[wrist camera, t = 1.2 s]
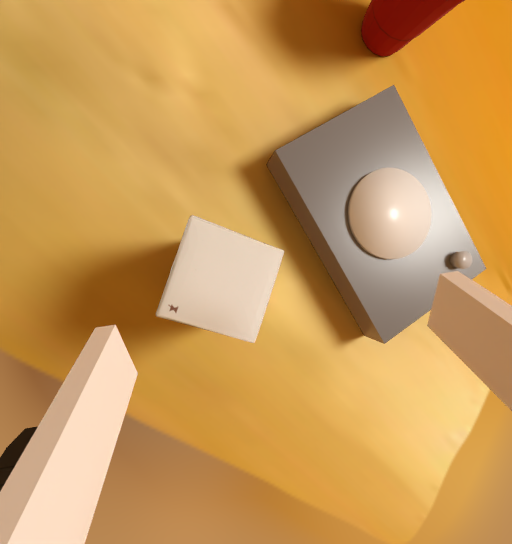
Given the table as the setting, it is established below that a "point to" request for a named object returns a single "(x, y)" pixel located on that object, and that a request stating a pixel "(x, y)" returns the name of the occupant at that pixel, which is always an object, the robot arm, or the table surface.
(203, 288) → the supplement box
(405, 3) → the plastic cup
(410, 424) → the table surface
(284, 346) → the table surface
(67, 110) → the table surface
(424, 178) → the grey base plate
